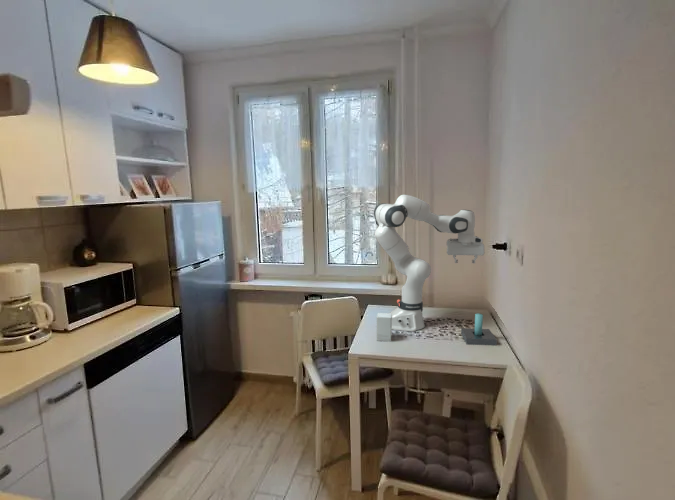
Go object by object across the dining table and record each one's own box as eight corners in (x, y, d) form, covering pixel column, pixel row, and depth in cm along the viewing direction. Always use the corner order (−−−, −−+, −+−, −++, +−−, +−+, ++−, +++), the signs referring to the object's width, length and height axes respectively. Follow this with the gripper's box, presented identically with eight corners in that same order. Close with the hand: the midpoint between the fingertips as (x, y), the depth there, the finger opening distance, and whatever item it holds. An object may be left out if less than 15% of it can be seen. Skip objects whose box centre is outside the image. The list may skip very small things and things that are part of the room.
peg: (475, 340, 189) (476, 315, 187) (473, 337, 192) (474, 313, 190) (482, 340, 188) (483, 315, 186) (480, 338, 192) (481, 313, 190)
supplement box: (391, 341, 189) (391, 317, 187) (376, 341, 191) (376, 317, 189) (391, 336, 196) (391, 313, 194) (377, 335, 198) (377, 312, 196)
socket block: (466, 344, 184) (466, 338, 184) (461, 333, 198) (461, 328, 198) (496, 345, 183) (496, 339, 182) (488, 334, 196) (489, 329, 196)
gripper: (447, 239, 210) (446, 263, 212) (486, 239, 207) (484, 264, 209) (445, 237, 216) (445, 261, 218) (483, 238, 213) (481, 262, 215)
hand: (464, 262), depth 214 cm, fingers open, 8 cm apart
